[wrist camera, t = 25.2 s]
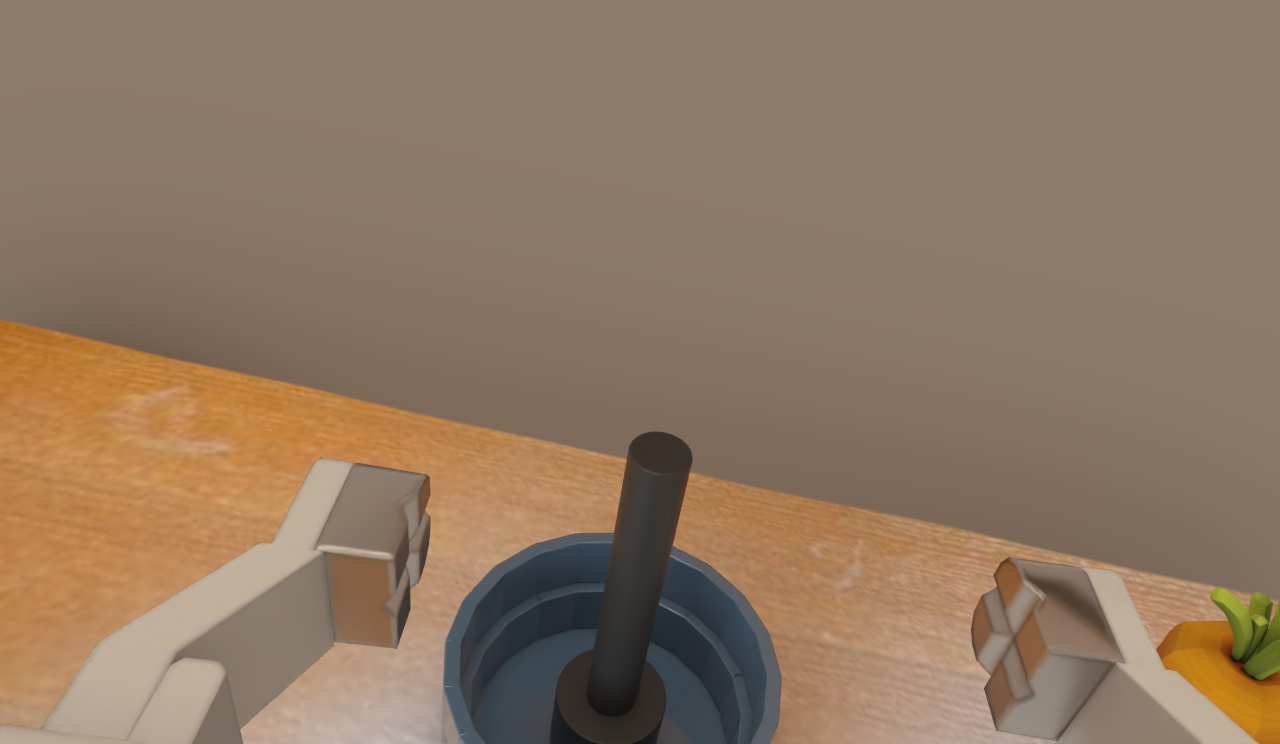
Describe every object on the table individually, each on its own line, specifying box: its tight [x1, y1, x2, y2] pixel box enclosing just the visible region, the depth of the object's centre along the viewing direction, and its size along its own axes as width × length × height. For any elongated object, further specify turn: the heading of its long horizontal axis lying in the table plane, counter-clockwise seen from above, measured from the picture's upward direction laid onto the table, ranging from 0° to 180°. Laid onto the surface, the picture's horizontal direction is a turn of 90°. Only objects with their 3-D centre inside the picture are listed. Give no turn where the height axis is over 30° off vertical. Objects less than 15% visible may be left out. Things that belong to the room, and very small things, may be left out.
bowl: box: [443, 533, 782, 744], centre depth 36 cm, size 13×13×6 cm
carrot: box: [1157, 588, 1280, 744], centre depth 34 cm, size 5×5×15 cm
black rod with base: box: [550, 432, 692, 744], centre depth 33 cm, size 4×4×16 cm
